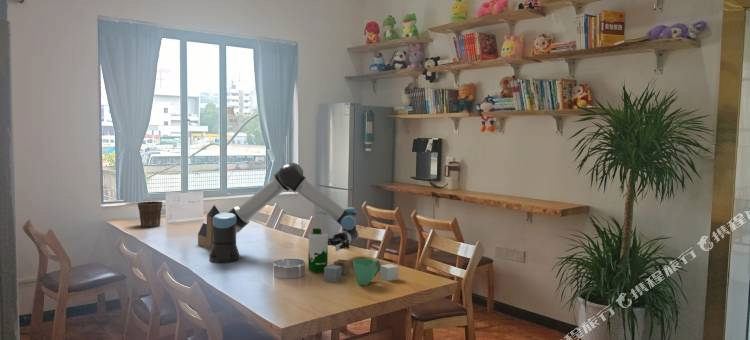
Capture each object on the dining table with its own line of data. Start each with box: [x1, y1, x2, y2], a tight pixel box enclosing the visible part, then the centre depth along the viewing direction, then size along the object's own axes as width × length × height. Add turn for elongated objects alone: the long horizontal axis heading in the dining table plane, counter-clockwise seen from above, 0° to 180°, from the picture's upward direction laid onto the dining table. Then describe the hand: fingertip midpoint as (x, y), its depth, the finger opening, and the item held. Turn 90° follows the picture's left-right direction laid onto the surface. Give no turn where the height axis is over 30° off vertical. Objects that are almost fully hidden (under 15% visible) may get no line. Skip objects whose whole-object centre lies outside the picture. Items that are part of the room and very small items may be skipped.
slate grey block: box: [323, 264, 343, 283], centre depth 245 cm, size 6×6×6 cm
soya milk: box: [307, 228, 329, 274], centre depth 259 cm, size 9×9×20 cm
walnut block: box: [332, 259, 351, 277], centre depth 255 cm, size 6×6×6 cm
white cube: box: [379, 263, 399, 282], centre depth 248 cm, size 6×6×6 cm
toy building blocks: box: [197, 204, 220, 251], centre depth 309 cm, size 12×19×25 cm
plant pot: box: [137, 200, 164, 228], centre depth 369 cm, size 16×16×16 cm
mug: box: [352, 258, 381, 286], centre depth 241 cm, size 15×10×10 cm
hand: (323, 246), depth 263 cm, fingers open, 13 cm apart
